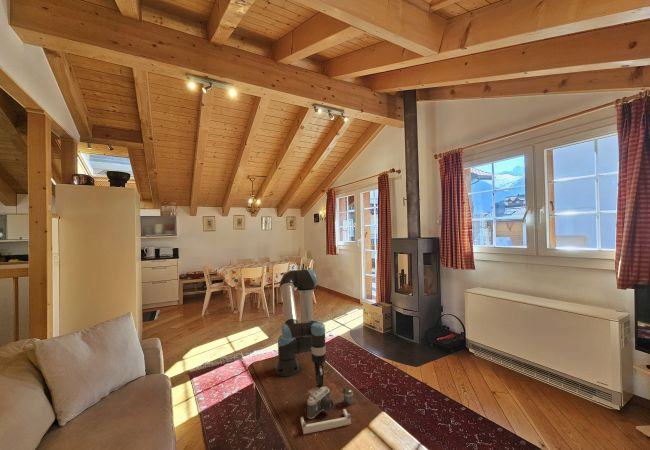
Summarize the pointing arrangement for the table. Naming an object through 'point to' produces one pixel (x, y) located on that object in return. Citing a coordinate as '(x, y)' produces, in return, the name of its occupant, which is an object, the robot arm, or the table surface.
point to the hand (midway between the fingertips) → (319, 397)
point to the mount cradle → (326, 424)
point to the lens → (347, 396)
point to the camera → (319, 402)
